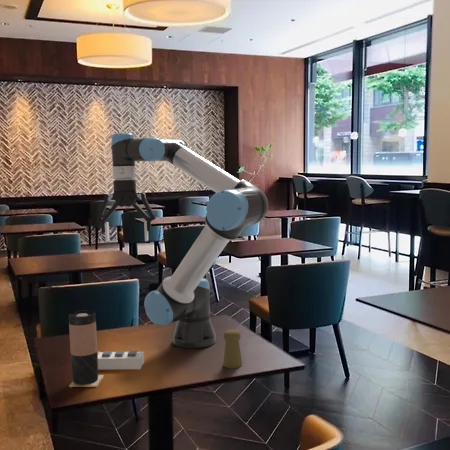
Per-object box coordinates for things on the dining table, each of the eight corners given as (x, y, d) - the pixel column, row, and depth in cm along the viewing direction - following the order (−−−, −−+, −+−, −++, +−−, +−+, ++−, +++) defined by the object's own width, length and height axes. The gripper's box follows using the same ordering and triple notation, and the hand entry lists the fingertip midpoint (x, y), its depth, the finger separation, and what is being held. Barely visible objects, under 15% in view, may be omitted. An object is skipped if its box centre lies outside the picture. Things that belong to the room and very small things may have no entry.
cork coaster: (103, 376, 170) (103, 374, 170) (96, 387, 162) (96, 385, 162) (77, 377, 170) (77, 375, 170) (69, 387, 162) (69, 385, 162)
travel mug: (99, 383, 163) (96, 315, 161) (72, 386, 161) (68, 318, 159) (98, 373, 171) (94, 309, 168) (71, 377, 169) (68, 311, 166)
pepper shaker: (228, 369, 173) (227, 334, 172) (219, 363, 179) (218, 329, 178) (245, 365, 176) (245, 331, 175) (236, 360, 182) (235, 326, 180)
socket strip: (143, 362, 181) (143, 348, 181) (140, 369, 176) (140, 355, 175) (88, 362, 182) (87, 349, 182) (82, 369, 176) (82, 356, 176)
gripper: (85, 180, 190) (88, 243, 192) (159, 178, 189) (161, 241, 191) (91, 179, 197) (94, 240, 200) (162, 178, 196) (164, 238, 199)
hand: (127, 241), depth 195 cm, fingers open, 13 cm apart
